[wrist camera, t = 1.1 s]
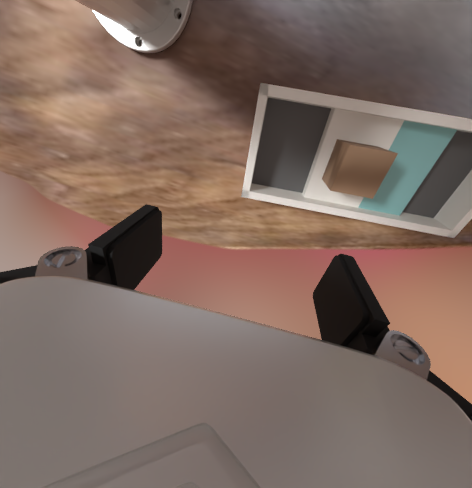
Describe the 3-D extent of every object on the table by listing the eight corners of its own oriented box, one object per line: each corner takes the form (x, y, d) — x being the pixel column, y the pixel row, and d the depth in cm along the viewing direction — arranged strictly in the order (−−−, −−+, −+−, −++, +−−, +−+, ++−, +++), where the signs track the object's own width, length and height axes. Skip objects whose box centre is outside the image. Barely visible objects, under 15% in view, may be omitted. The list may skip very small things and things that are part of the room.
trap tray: (261, 86, 25) (260, 82, 22) (511, 129, 24) (549, 132, 21) (244, 187, 32) (241, 196, 29) (434, 224, 31) (454, 238, 28)
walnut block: (337, 139, 25) (349, 144, 21) (377, 146, 25) (397, 153, 21) (321, 178, 28) (330, 190, 24) (357, 185, 28) (372, 198, 24)
